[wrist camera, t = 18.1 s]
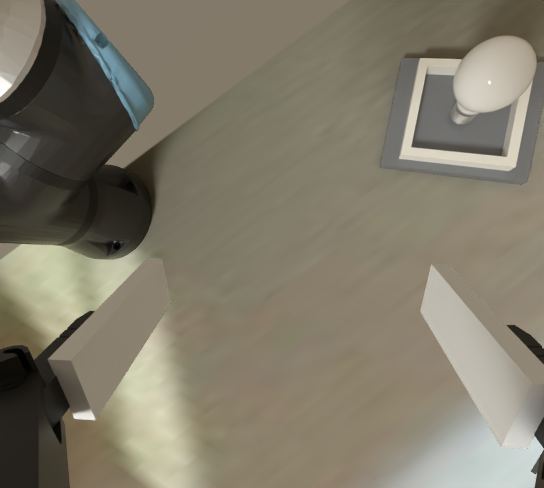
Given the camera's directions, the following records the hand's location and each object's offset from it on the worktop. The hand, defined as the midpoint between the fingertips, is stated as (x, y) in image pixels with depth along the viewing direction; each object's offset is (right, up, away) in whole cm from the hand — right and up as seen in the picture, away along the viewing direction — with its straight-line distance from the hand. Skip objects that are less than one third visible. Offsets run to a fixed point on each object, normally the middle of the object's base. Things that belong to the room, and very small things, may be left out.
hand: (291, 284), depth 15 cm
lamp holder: (+22, +17, +22) cm, 36 cm away
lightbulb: (+22, +17, +21) cm, 35 cm away
